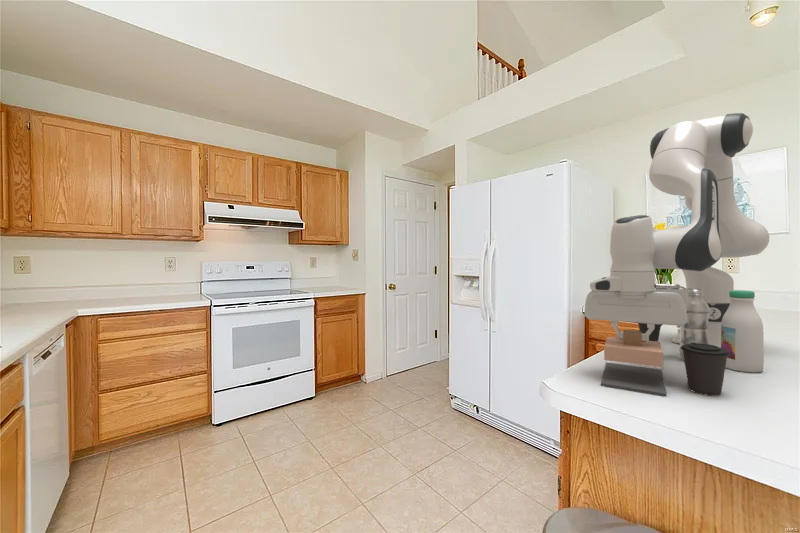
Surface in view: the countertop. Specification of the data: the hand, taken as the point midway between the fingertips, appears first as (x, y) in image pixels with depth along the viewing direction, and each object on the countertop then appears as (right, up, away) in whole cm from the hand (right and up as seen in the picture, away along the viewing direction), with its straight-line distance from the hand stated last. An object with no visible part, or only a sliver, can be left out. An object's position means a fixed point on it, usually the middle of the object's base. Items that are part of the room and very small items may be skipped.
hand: (632, 340), depth 82 cm
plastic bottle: (+25, -9, +12) cm, 29 cm away
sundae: (+17, -9, +17) cm, 25 cm away
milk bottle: (+32, -9, +5) cm, 33 cm away
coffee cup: (+10, -10, -8) cm, 16 cm away
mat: (0, -9, 0) cm, 9 cm away
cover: (0, -2, 0) cm, 2 cm away
